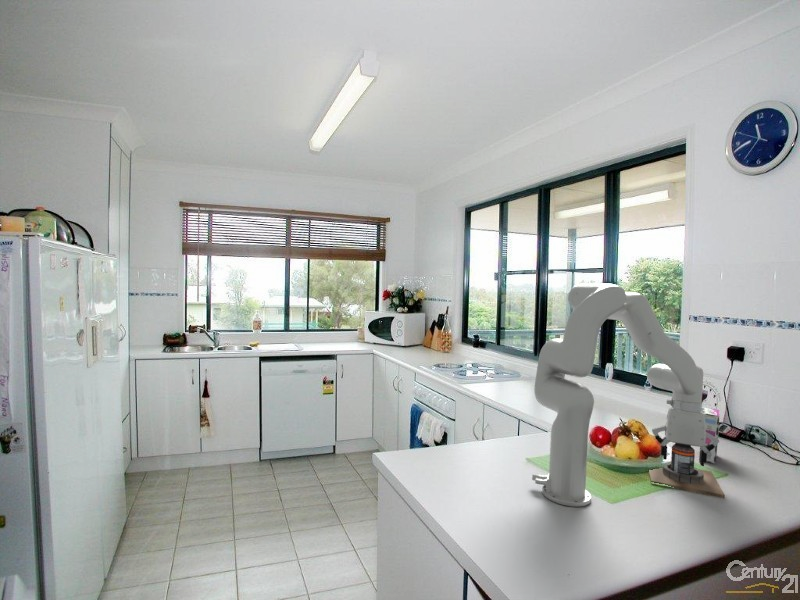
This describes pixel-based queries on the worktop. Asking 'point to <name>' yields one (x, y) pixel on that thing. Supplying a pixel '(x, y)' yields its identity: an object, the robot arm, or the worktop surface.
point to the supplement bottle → (682, 459)
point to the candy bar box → (711, 431)
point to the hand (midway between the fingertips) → (682, 461)
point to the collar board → (688, 481)
